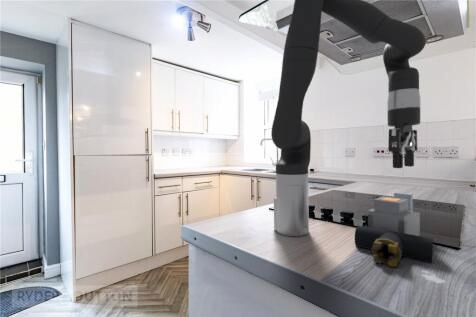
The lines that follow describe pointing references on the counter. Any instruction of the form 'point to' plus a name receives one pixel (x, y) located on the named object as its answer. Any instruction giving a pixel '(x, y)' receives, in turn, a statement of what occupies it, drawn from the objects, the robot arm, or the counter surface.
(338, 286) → the counter surface
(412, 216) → the housing
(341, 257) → the counter surface
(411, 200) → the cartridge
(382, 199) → the plunger
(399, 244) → the pipe connector
